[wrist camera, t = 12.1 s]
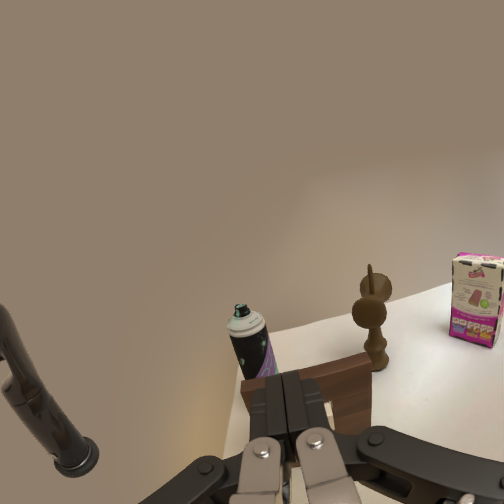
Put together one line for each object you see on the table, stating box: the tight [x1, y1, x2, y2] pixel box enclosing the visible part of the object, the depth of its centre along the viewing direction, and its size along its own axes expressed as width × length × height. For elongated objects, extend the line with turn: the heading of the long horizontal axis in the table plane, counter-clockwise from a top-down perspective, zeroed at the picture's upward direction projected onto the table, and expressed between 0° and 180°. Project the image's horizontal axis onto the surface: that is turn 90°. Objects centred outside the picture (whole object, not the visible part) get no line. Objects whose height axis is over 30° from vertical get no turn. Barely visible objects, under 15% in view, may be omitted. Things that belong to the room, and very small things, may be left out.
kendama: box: [352, 264, 392, 371], centre depth 43 cm, size 6×10×20 cm, turn 149°
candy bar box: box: [449, 252, 504, 348], centre depth 38 cm, size 11×5×16 cm, turn 27°
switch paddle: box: [324, 401, 335, 430], centre depth 27 cm, size 3×4×3 cm
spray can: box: [227, 304, 279, 380], centre depth 41 cm, size 6×6×20 cm
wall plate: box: [240, 352, 372, 468], centre depth 31 cm, size 8×14×16 cm, turn 89°
